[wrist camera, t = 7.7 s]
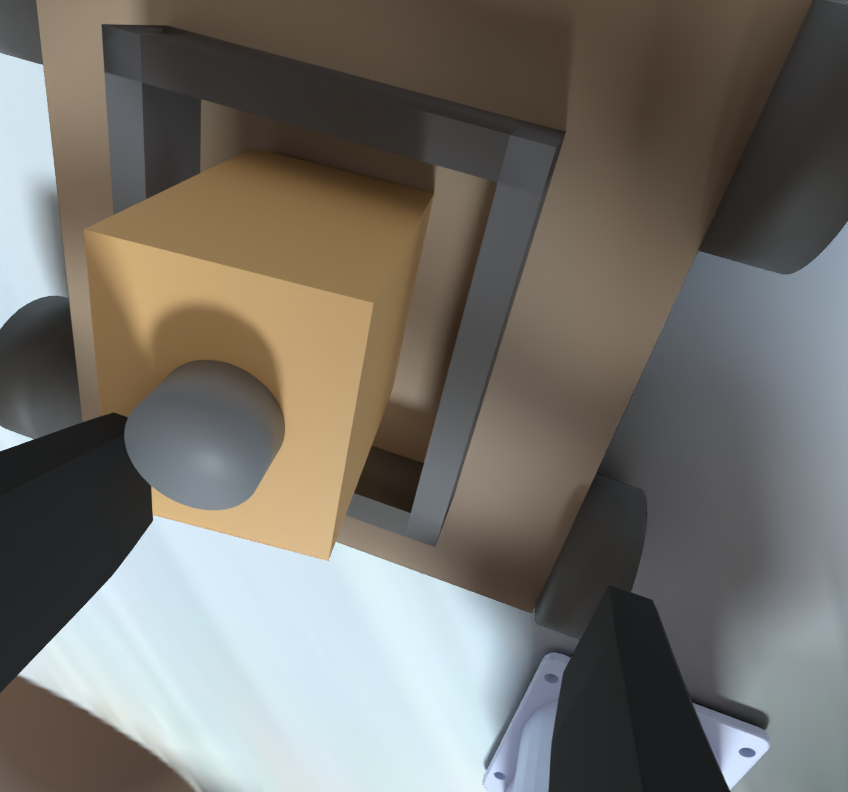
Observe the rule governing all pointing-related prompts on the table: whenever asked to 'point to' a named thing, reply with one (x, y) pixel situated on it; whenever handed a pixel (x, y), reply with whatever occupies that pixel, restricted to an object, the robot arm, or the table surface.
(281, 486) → the tan block with knob
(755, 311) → the table surface
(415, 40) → the chassis
